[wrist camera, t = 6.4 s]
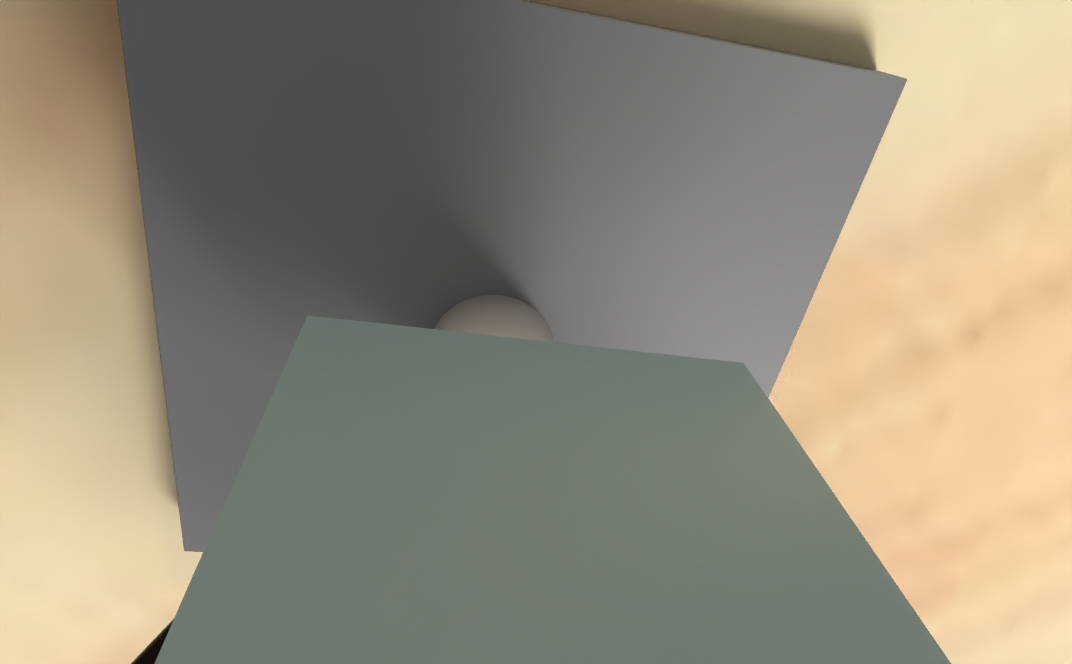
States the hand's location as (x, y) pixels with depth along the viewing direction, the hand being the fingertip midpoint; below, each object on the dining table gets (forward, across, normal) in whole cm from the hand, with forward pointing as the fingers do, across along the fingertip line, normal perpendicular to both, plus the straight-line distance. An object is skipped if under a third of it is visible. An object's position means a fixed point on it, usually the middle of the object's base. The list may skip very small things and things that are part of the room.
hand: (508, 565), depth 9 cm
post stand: (+7, 0, 0) cm, 7 cm away
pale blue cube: (+1, 0, 0) cm, 1 cm away
